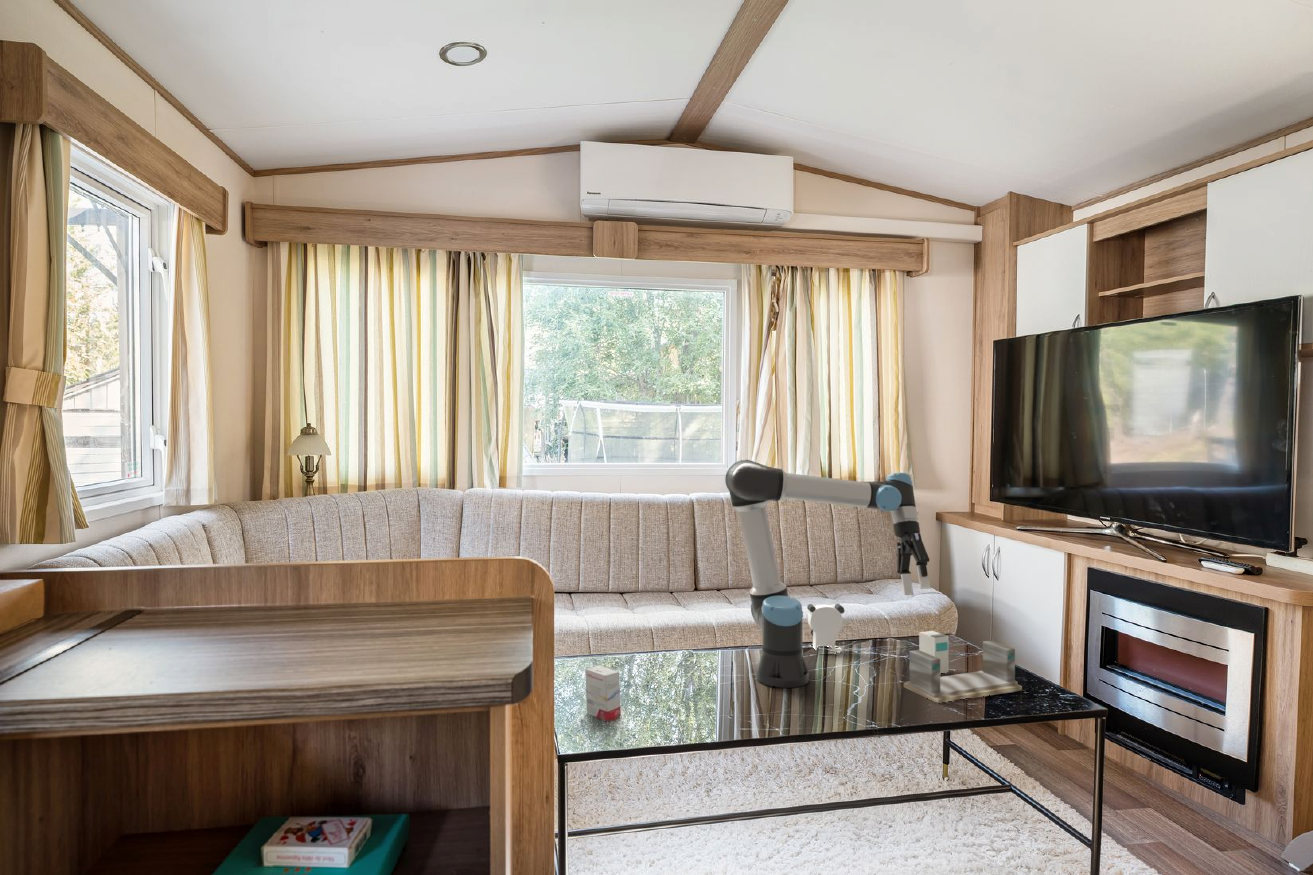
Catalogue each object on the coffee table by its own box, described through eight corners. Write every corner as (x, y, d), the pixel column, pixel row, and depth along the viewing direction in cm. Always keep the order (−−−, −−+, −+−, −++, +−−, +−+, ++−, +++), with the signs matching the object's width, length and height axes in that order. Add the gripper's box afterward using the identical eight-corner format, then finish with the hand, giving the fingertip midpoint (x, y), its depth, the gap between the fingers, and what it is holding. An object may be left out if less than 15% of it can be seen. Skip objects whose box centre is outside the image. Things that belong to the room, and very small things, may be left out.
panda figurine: (838, 644, 258) (838, 600, 258) (848, 654, 246) (848, 608, 246) (803, 645, 257) (803, 601, 257) (812, 655, 246) (811, 609, 246)
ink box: (621, 717, 194) (621, 671, 194) (606, 722, 191) (606, 676, 191) (599, 708, 201) (599, 664, 200) (584, 713, 197) (584, 668, 197)
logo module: (935, 674, 226) (935, 637, 226) (919, 667, 233) (919, 631, 232) (948, 673, 228) (948, 635, 227) (932, 666, 234) (932, 629, 234)
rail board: (937, 703, 202) (937, 662, 202) (903, 686, 216) (903, 648, 215) (1021, 690, 212) (1021, 651, 212) (984, 674, 225) (984, 638, 225)
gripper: (933, 512, 223) (945, 584, 216) (903, 531, 246) (914, 597, 239) (908, 513, 222) (920, 585, 215) (880, 531, 246) (890, 598, 239)
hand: (916, 591), depth 227 cm, fingers open, 13 cm apart
